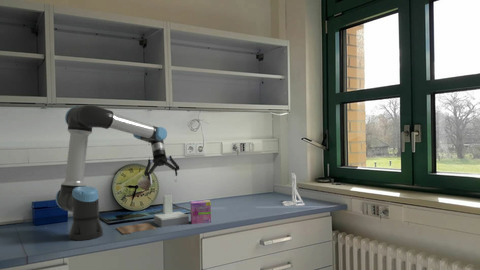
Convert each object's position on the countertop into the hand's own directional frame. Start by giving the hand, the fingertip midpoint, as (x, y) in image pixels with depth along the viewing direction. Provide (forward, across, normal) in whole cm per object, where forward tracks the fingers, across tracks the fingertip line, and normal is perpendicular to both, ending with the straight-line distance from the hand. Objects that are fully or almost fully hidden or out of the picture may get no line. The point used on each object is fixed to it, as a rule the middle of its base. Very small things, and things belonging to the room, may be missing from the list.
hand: (163, 182), depth 216 cm
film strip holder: (+15, -81, -36) cm, 90 cm away
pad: (+26, +18, +5) cm, 32 cm away
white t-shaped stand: (+21, -1, 0) cm, 21 cm away
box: (+28, -16, -1) cm, 32 cm away
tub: (+24, 0, -2) cm, 24 cm away
